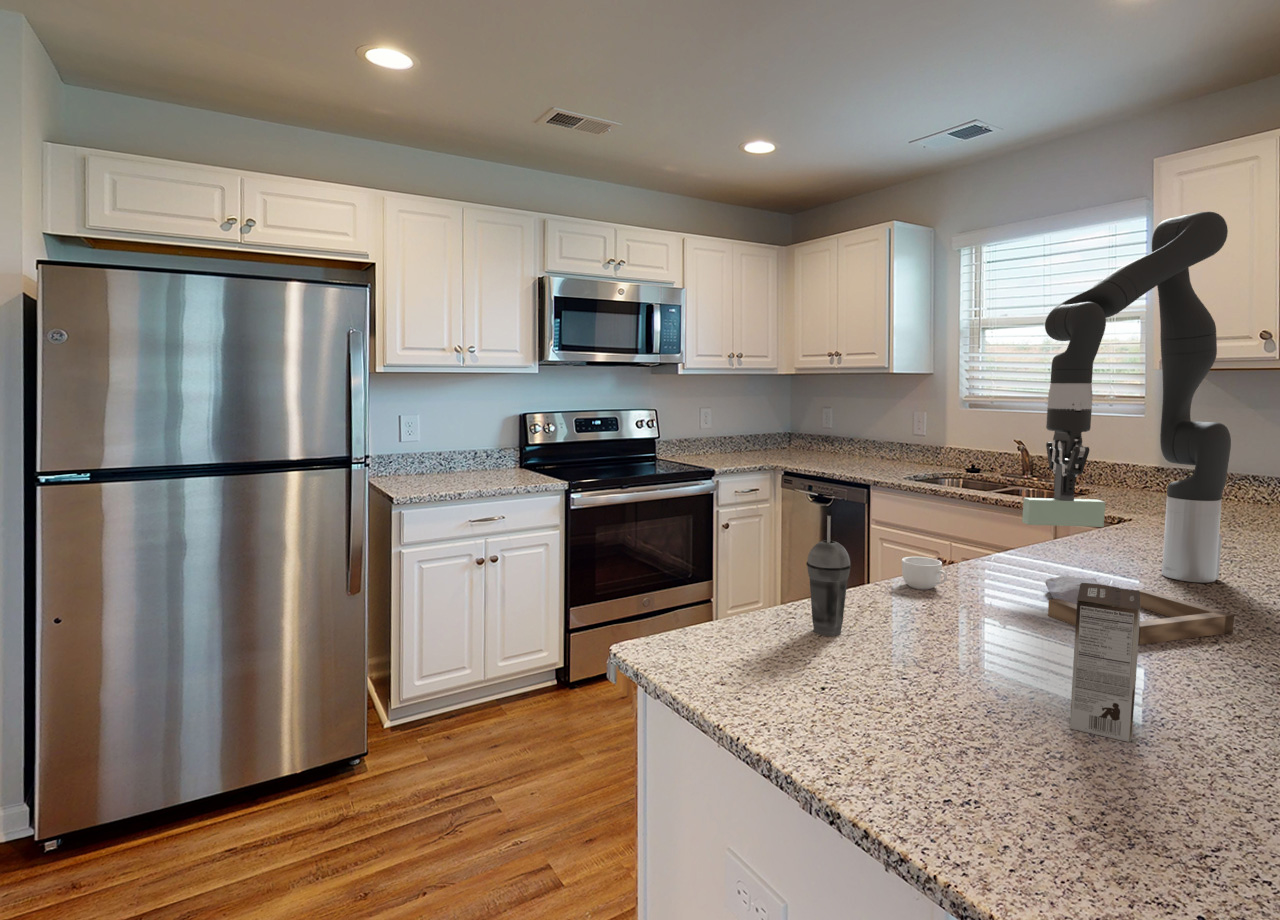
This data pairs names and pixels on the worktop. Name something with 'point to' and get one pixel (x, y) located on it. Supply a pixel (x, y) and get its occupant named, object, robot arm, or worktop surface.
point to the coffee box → (1105, 660)
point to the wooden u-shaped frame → (1181, 625)
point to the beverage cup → (828, 584)
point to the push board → (1063, 509)
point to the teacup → (922, 572)
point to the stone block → (1067, 587)
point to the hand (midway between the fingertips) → (1063, 493)
